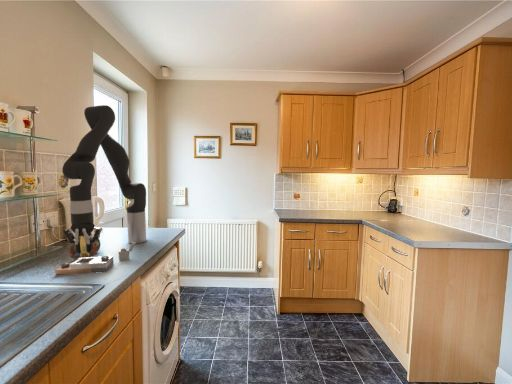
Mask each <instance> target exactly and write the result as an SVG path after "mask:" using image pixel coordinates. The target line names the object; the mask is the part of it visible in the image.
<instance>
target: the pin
mask: <svg viewBox="0 0 512 384" xmlns="http://www.w3.org/2000/svg"><path fill="white" fill-rule="evenodd" d="M79 242H80V256H81V258H84V257H90V256H89V253H87V242H86V239H85V237H84V236H79Z"/></svg>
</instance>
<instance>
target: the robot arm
mask: <svg viewBox="0 0 512 384" xmlns="http://www.w3.org/2000/svg"><path fill="white" fill-rule="evenodd" d="M83 115H84V117H85V121H86V122H87V124H88V126H89V128H90V129H91V130H90V131H88V132H87V133H86V134H85V135H84V136H83V137H82V138H81V140H79V143H78V145H77V147H76V150H75V151H74V152H73V153H72V154H71V155H70V156H69V157H68V159H66V161H65V162H64V163H63V165H62V168H61V169H62V175H63V176H64V177H65V178H66V179H67V180H80V183H79V184H75V185H71V186H70V187H69V200H70V204H69V212H70V213H69V214H70V223H71V225H70V228H66V229H64V230H63V233H64V235H65V237H66V239H67V240H68V242H69V243H70V244H73V243H74V244H75V245H76V252H78V253H80V242H79V236H84V237H85V239H86V242H87V253H90V252H91V251H92V250H93V243H94V242H95V241H97V240H98V239H99V237H100V235H101V232H102V230H103V229H102V227H96V225H95V223H94V221H95V220H94V205H93V200H92V186H93V183H94V177H95V174H96V168H95V165H94V164H93V163H92V162H93V161H94V160H95V159H96V157H97V153H98V151H99V149H100V147H101V148H102V151H103V152H104V155H105V157H106V160H107V162H108V163H109V165H110V167H111V168H112V171H113V173H114V175H115V178H116V180H117V182H118V186H119V188H120V191H121V193H122V195H123V197H124V198H125V199H127V200H133V204H131V205H128V206H127V207H126V217H127V218H126V219H127V220H126V221H127V237H128V238H127V241H128V243H129V244H132V242H136V243H135V244H141V243H145V242H146V241H147V225H146V224H147V223H146V206H147V190H146V186H145V184H143V183H141V182H132V181H131V179H130V176H129V170H130V169H129V168H130V158H129V156H128V154H127V151H126V149H125V147H123V145H121V144H120V143H119V142H118V141H117V140H116V139H114V138H113V137H112V136H111V135H110V134H109V131H110V130H111V128H112V127H113V126H114V124H115V121H116V114H115V111H114V110H113V108H112V107H110V106H109V105H104V104H103V105H93V106H88V107H85V109H84V114H83ZM92 232H93V233H94V234H93V233H92ZM92 237H93V239H92Z"/></svg>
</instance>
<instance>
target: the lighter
mask: <svg viewBox="0 0 512 384" xmlns="http://www.w3.org/2000/svg"><path fill="white" fill-rule="evenodd" d="M130 244H131V245H130V247H129V249H127V248H126V247H123V248H121V249H119V250H118V261H119V260H121V261H128V260H127V259H129V258H131V257H130V252H132V251H133V249H134V247H135V245H136V244H137V243H136V242H132V243H130ZM129 260H130V259H129Z"/></svg>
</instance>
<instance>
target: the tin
mask: <svg viewBox="0 0 512 384" xmlns="http://www.w3.org/2000/svg"><path fill="white" fill-rule="evenodd" d="M92 239H93V236H92ZM100 248H101V240H100V239H99V238H98V240H97V241H95V242H94V243H93V250H92V251H91V252H90V253H89V256H88V257H92V256H93V255H95V254H97V253H98V252H99V251H100ZM69 256H70V258H71V259H72V260H77V259H79V258H81V256H80V253H78V252H76V245H75V244H74V243H71V245H70V247H69Z"/></svg>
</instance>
